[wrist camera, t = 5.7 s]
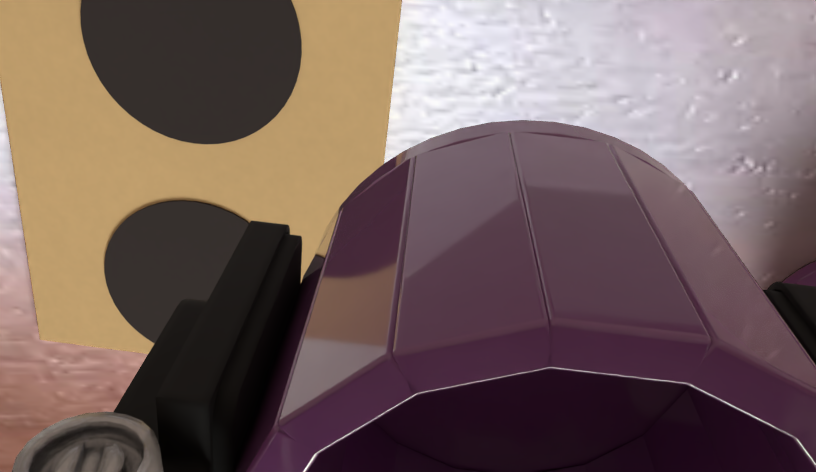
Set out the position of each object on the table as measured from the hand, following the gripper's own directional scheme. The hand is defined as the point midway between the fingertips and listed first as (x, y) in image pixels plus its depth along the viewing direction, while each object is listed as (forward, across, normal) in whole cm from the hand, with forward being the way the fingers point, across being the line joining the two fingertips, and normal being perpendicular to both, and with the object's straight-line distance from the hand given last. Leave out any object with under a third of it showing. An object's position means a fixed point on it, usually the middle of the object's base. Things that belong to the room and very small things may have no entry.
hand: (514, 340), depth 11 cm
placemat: (+16, +10, +5) cm, 20 cm away
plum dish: (+1, 0, 0) cm, 1 cm away
